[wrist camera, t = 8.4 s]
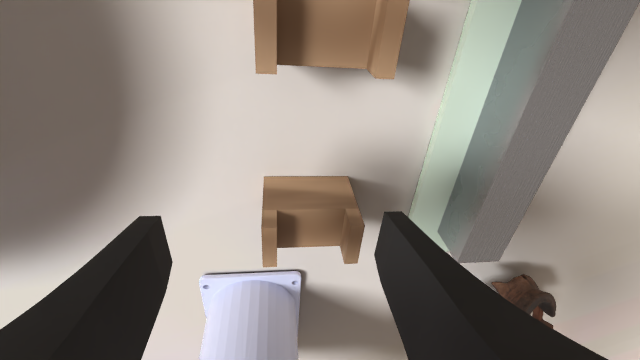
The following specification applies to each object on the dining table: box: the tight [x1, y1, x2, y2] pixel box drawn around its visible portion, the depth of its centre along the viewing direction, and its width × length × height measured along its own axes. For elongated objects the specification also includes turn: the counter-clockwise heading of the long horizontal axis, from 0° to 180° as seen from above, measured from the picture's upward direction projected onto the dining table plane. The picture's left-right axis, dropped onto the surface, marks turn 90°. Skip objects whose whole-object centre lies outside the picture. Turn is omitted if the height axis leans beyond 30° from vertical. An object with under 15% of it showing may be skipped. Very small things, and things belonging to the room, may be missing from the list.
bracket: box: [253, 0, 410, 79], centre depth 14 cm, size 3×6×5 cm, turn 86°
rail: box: [437, 0, 640, 263], centre depth 19 cm, size 18×3×3 cm
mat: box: [408, 0, 522, 252], centre depth 21 cm, size 20×8×1 cm, turn 176°
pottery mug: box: [492, 274, 556, 329], centre depth 30 cm, size 12×10×8 cm
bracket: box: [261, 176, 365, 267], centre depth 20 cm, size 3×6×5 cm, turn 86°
